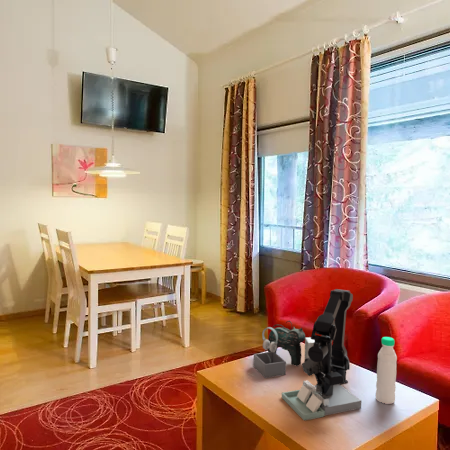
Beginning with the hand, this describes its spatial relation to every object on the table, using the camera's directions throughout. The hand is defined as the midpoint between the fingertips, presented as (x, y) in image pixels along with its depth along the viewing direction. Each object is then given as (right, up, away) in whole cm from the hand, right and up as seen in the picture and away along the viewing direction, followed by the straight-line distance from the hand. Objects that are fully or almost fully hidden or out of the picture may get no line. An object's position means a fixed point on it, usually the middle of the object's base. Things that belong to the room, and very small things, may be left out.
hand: (322, 391), depth 155 cm
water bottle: (+25, -5, +3) cm, 26 cm away
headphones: (-17, -2, +28) cm, 33 cm away
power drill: (-9, -1, +40) cm, 41 cm away
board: (+4, -4, +2) cm, 6 cm away
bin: (-8, -5, -3) cm, 10 cm away
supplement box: (+4, -2, +34) cm, 34 cm away
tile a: (-6, -2, +2) cm, 7 cm away
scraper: (0, -1, 0) cm, 1 cm away
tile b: (-4, -3, -5) cm, 7 cm away
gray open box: (-17, -2, +28) cm, 33 cm away
